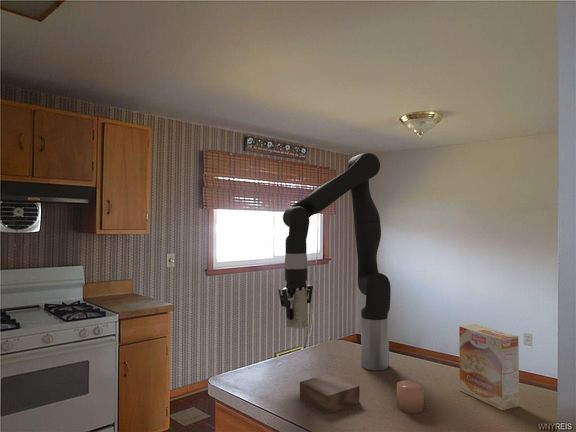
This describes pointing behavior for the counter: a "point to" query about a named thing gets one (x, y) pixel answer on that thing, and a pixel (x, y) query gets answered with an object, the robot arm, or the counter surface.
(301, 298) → the skincare box
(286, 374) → the counter surface
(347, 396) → the walnut block
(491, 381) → the coffeecake box
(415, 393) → the pink rounded knob
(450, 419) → the counter surface
